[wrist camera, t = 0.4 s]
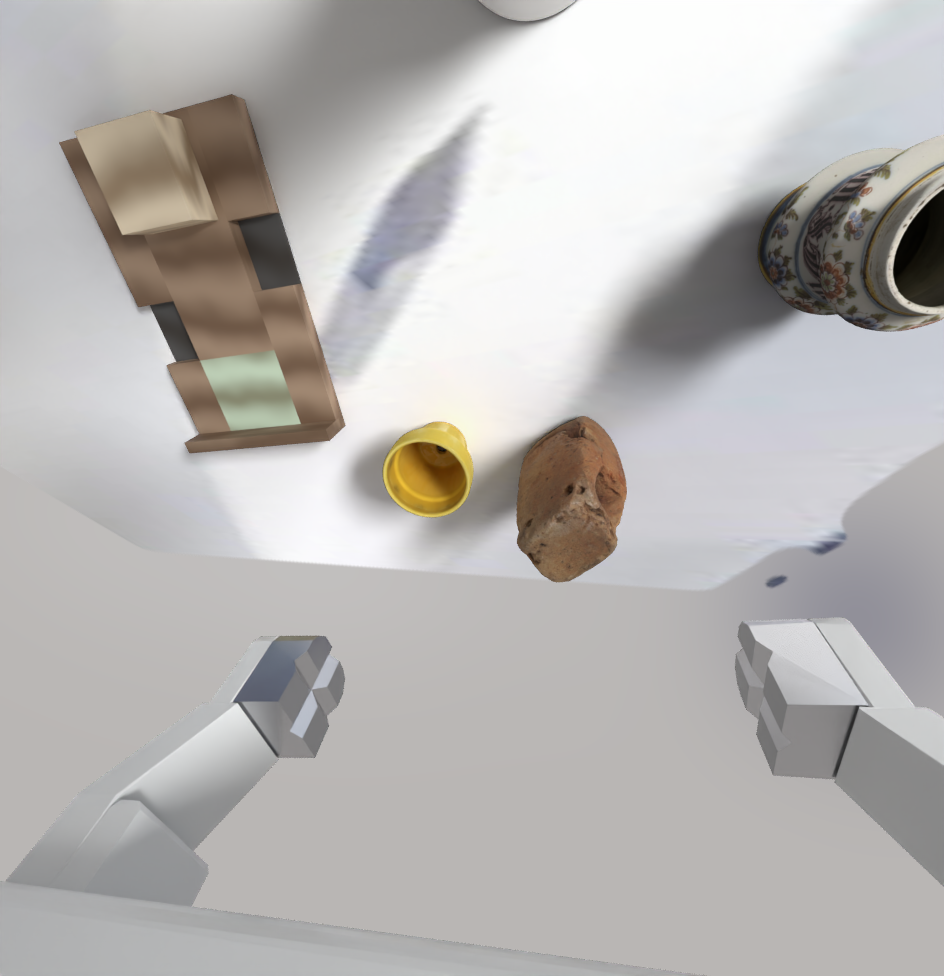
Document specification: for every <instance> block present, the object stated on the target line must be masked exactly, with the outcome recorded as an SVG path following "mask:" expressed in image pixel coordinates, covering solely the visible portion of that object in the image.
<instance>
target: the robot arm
mask: <svg viewBox="0 0 944 976" xmlns="http://www.w3.org/2000/svg"><path fill="white" fill-rule="evenodd" d="M478 1H479V2H480V3H481V4H483V5H484V6H485V7H486V8H488V9H489V10H491V11H492V12H494V13H496V14H498V15H499V16H502V17H504V18H508V19H511V20H516V21H534V20H539V19H543V18H547V17H549V16H552V15H554V14H556V13H558V12H560V11H562V10H563V9H565V8H567V7H568V6H569V5H571V4H572V3H573V2H575V1H576V0H478ZM738 638H739V641H740V642H741V645H742V647H743V648H742V649H741V650H740V651H739V652H738V653H737V654H736V660H735V670H736V678H737V684H738V687H739V691H740V694H741V697H742V700H743V702H744V705H745V708H746V710H747V711H749V712H750V713H751V714H752V715H754V716H755V717H756V718H757V719H758V727H757V734H756V735H757V737H758V740H759V742H760V745H761V747H762V750H763V752H764V754H765V757H766V759H767V761H768V764H769V766H770V769H771V771H772V774H773V775H775V776H776V775H777V776H791V777H806V778H822V779H835V783H836V784H837V785H838V786H839V787H840V788H841V789H842V790H843V791H844V792H845V793H846V794H847V795H848V796H849V797H850V798H852V800H854V801H855V802H856V803H857V804H858V805H859V806H860V807H861V808H862V809H863V810H864V811H865V812H866V813H867V814H868V815H869V816H870V817H871V818H872V819H873V820H874V821H875V822H877V823H878V824H879V825H880V826H881V827H882V828H883V829H884V830H885V831H886V832H887V833H888V834H889V835H890V836H891V837H892V838H893V839H894V840H895V841H896V842H897V843H899V844H900V845H901V846H902V847H903V848H904V849H905V850H906V851H907V852H908V853H909V854H910V855H911V856H912V857H913V858H914V859H915V860H916V861H917V862H918V863H919V864H920V865H922V866H923V867H924V868H925V869H926V870H927V871H928V872H929V873H930V874H931V875H932V876H933V877H934V878H935V879H936V880H937V881H938V882H939V883H940V884H941V885H943V886H944V717H942V716H941V715H939V714H937V713H936V712H934V711H932V710H931V709H929V708H923V707H915V706H914V705H913V704H912V702H911V701H910V700H909V698H908V697H907V696H906V694H905V693H904V692H903V691H902V689H901V688H900V687H899V685H898V684H897V683H896V681H895V680H894V679H893V677H892V676H891V675H890V673H889V672H888V671H887V670H886V668H885V667H884V666H883V664H882V663H881V662H880V660H879V659H878V658H877V656H876V655H875V654H874V653H873V651H872V650H871V649H870V647H869V646H868V645H867V643H866V642H865V641H864V639H863V638H862V637H861V636H860V634H859V633H858V632H857V630H856V629H855V628H854V626H853V625H852V624H851V622H849V621H848V620H846V619H844V618H817V619H807V620H806V619H787V620H786V619H785V620H762V621H742V622H741V624H740V626H739V631H738ZM331 648H332V646H331V645H330V643H329V641H328V639H327V638H326V637H325V636H261V637H259V638H258V639H257V640H255V641H253V642H252V644H251V645H250V647H249V648H248V649H247V651H246V652H245V654H244V655H243V656H242V658H241V659H240V661H239V662H238V663H237V665H236V666H235V668H234V669H233V670H232V672H231V673H230V675H229V676H228V677H227V679H226V680H225V682H224V683H223V684H222V686H221V687H220V689H219V690H218V691H217V693H216V694H215V696H214V697H213V699H212V700H211V701H210V703H202V704H201V705H200V706H198V707H197V708H195V709H194V710H193V711H191V712H190V713H188V714H187V715H186V716H184V717H183V718H182V719H180V720H179V721H177V722H176V723H175V724H173V725H172V726H171V727H169V728H168V729H166V730H165V731H164V732H162V733H161V734H160V735H158V736H157V737H155V738H154V739H153V740H151V741H150V742H148V743H147V744H146V745H144V746H143V747H142V748H140V749H139V750H137V751H136V752H135V753H133V754H132V755H131V756H129V757H128V758H127V759H125V760H124V761H123V762H121V763H120V764H118V765H117V766H115V767H114V768H113V769H111V770H110V771H109V772H107V773H106V774H104V775H103V776H102V777H100V778H99V779H97V780H96V781H95V782H93V783H92V784H91V785H89V786H88V787H87V788H85V789H84V790H82V791H81V792H80V793H78V794H77V795H76V796H75V798H74V799H73V800H72V801H71V803H70V804H69V805H68V806H67V807H66V809H65V810H64V811H63V812H62V813H61V815H60V816H59V817H58V818H57V819H56V821H55V822H54V823H53V824H52V826H51V827H50V828H49V829H48V830H47V832H46V833H45V834H44V835H43V836H42V838H41V839H40V840H39V841H38V842H37V844H36V845H35V846H34V847H33V848H32V850H31V851H30V852H29V853H28V854H27V856H26V857H25V858H24V859H23V861H22V862H21V863H20V864H19V866H18V867H17V868H16V869H15V870H14V872H13V873H12V874H11V875H10V877H9V878H8V879H7V880H6V881H5V882H4V881H0V976H705V975H697V974H690V973H682V972H674V971H667V970H660V969H653V968H645V967H637V966H630V965H623V964H615V963H608V962H600V961H593V960H585V959H578V958H570V957H563V956H556V955H548V954H540V953H533V952H526V951H518V950H511V949H503V948H496V947H489V946H481V945H474V944H466V943H459V942H451V941H444V940H436V939H428V938H422V937H414V936H407V935H399V934H391V933H384V932H377V931H369V930H362V929H354V928H347V927H340V926H331V925H324V924H317V923H309V922H302V921H295V920H287V919H280V918H272V917H265V916H258V915H249V914H243V913H235V912H228V911H219V910H213V909H206V908H197V907H191V906H192V904H193V902H194V901H195V899H196V897H197V895H198V893H199V891H200V889H201V887H202V885H203V883H204V881H205V879H206V877H207V875H208V865H207V864H206V863H205V862H204V861H203V860H202V859H201V858H200V857H199V856H198V855H197V854H196V853H195V852H194V849H195V848H196V847H197V846H198V845H199V844H200V843H201V842H202V841H203V840H204V839H205V838H206V837H207V835H209V834H210V832H211V831H212V830H213V829H214V828H215V827H216V826H217V825H218V824H219V823H220V822H221V821H222V820H223V818H225V816H226V815H227V814H228V813H229V812H230V811H231V810H232V809H233V808H234V807H235V806H236V805H237V804H238V803H239V802H240V801H241V799H242V798H243V797H244V796H245V795H246V794H247V793H248V792H249V791H250V790H251V789H252V788H253V786H255V785H256V784H257V782H258V781H259V780H260V779H261V778H262V777H263V776H264V775H265V774H266V773H267V772H268V771H269V769H270V768H272V766H273V765H274V764H275V763H276V762H277V761H278V758H315V757H316V754H317V752H318V750H319V747H320V745H321V743H322V741H323V738H324V736H325V734H326V731H327V729H328V727H329V724H328V719H327V715H328V714H329V713H331V712H332V711H333V710H334V709H335V708H336V707H337V706H338V704H339V702H340V699H341V697H342V694H343V689H344V682H345V677H344V671H343V668H342V666H341V664H340V662H339V661H338V660H337V659H336V658H334V657H332V656H331V655H330V651H331Z"/></svg>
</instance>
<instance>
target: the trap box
mask: <svg viewBox="0 0 944 976" xmlns="http://www.w3.org/2000/svg"><path fill="white" fill-rule="evenodd" d="M163 114H165V115H168V116H172V117H175V118H178V119H181V120H182V123H183V125H184V128H185V131H186V134H187V136H188V139H189V142H190V144H191V147H192V150H193V152H194V155H195V158H196V161H197V163H198V166H199V169H200V171H201V174H202V177H203V180H204V182H205V185H206V188H207V190H208V193H209V196H210V199H211V201H212V204H213V207H214V209H215V212H216V215H217V217H218V220H217V221H212V222H208V223H203V224H198V225H194V226H189V227H184V228H180V229H175V230H170V231H165V232H161V233H156V234H145V235H122V233H121V231H120V229H119V227H118V225H117V222H116V220H115V218H114V216H113V214H112V212H111V210H110V207H109V205H108V203H107V201H106V199H105V197H104V194H103V192H102V190H101V188H100V186H99V184H98V182H97V179H96V177H95V175H94V173H93V171H92V169H91V166H90V164H89V162H88V160H87V158H86V156H85V154H84V151H83V149H82V147H81V145H80V143H79V141H78V139H77V138H74V139H70V140H67V141H63V142H59V144H60V146H61V148H62V150H63V152H64V154H65V156H66V158H67V160H68V162H69V164H70V166H71V168H72V171H73V173H74V175H75V177H76V179H77V181H78V183H79V185H80V187H81V189H82V191H83V193H84V195H85V197H86V200H87V202H88V204H89V206H90V208H91V210H92V212H93V214H94V216H95V218H96V220H97V222H98V224H99V227H100V229H101V231H102V233H103V235H104V237H105V239H106V241H107V243H108V245H109V247H110V249H111V251H112V253H113V256H114V258H115V260H116V262H117V264H118V266H119V268H120V270H121V272H122V274H123V276H124V278H125V280H126V282H127V285H128V287H129V289H130V291H131V293H132V295H133V297H134V299H135V301H136V303H137V305H138V307H142V306H148V305H150V306H151V308H152V311H153V313H154V315H155V317H156V319H157V321H158V323H159V325H160V328H161V330H162V332H163V334H164V336H165V338H166V340H167V342H168V345H169V347H170V349H171V351H172V353H173V355H174V357H175V360H176V362H174V363H171V364H169V365H167V367H168V370H169V372H170V374H171V376H172V378H173V380H174V382H175V384H176V386H177V388H178V390H179V392H180V394H181V397H182V399H183V401H184V403H185V405H186V407H187V409H188V411H189V413H190V415H191V417H192V419H193V421H194V423H195V426H196V428H197V430H198V432H199V435H197V436H196V437H194V438H192V439H190V440H189V441H187V442H185V445H186V447H187V449H188V451H189V453H199V452H210V451H221V450H232V449H243V448H254V447H265V446H276V445H287V444H298V443H309V442H320V441H330V440H331V439H332V438H333V437H334V436H335V435H336V434H337V433H338V432H339V431H340V430H341V429H342V428H343V427H344V426H345V423H344V419H343V416H342V413H341V410H340V407H339V403H338V400H337V397H336V394H335V390H334V387H333V384H332V381H331V378H330V374H329V371H328V368H327V365H326V361H325V358H324V355H323V352H322V349H321V345H320V342H319V339H318V336H317V332H316V329H315V326H314V323H313V320H312V316H311V313H310V310H309V307H308V304H307V300H306V297H305V294H304V291H303V287H302V284H301V281H300V278H299V275H298V271H297V268H296V265H295V262H294V258H293V255H292V252H291V249H290V246H289V242H288V239H287V236H286V233H285V229H284V226H283V223H282V220H281V217H280V213H279V210H278V207H277V204H276V201H275V197H274V194H273V191H272V188H271V184H270V181H269V178H268V175H267V172H266V168H265V165H264V162H263V159H262V155H261V152H260V149H259V146H258V143H257V139H256V136H255V133H254V130H253V126H252V123H251V120H250V117H249V114H248V110H247V107H246V104H245V101H244V99H241V98H239V97H237V96H234V95H232V94H231V95H228V96H224V97H221V98H217V99H214V100H210V101H206V102H203V103H199V104H196V105H192V106H188V107H185V108H181V109H178V110H174V111H170V112H167V113H163Z"/></svg>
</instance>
